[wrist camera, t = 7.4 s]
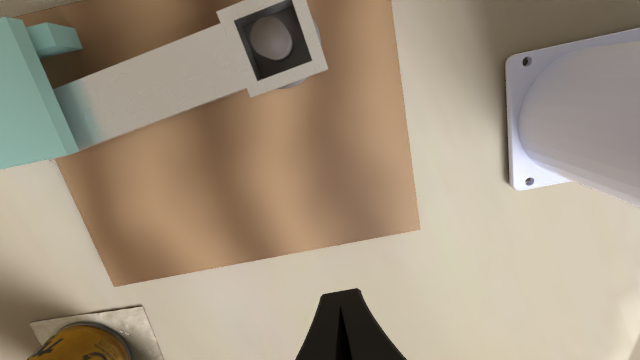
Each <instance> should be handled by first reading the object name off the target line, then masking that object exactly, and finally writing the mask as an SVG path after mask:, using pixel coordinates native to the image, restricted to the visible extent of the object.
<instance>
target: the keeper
mask: <svg viewBox="0 0 640 360" xmlns="http://www.w3.org/2000/svg"><path fill="white" fill-rule="evenodd" d="M80 49H83V48H82V45H81V43H80V40H79V38H78V35H77V33H76V30H75V28H71V27H66V26H62V25H57V24H52V23H47V22H46V23H42V24H38V25H34V26H30V27H25V25H24V23H23V21H22V20H20V19H15V18H10V17H1V18H0V169H5V168H10V167H14V166H19V165H24V164H28V163H33V162H38V161H42V160H47V159H52V158H56V157H61V156H66V155H70V154H73V153H76V152H79V149H78V147H77V145H76V142H75V140H74V138H73V135H72V133H71V131H70V129H69V126H68V124H67V122H66V119H65V117H64V115H63V112H62V110H61V108H60V106H59V103H58V101H57V99H56V96H55V94H54V92H53V89H52V87H51V85H50V83H49V80H48V78H47V76H46V73H45V71H44V69H43V67H42V64H41V62H40V60H39V59H42V58H46V57H50V56H54V55H59V54H63V53H67V52H71V51H76V50H80Z"/></svg>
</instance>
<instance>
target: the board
mask: <svg viewBox="0 0 640 360" xmlns="http://www.w3.org/2000/svg"><path fill="white" fill-rule="evenodd" d="M241 1H244V0H83V1H79V2H75V3H71V4H67V5H62V6H58V7H54V8H50V9H46V10H42V11H38V12H34V13H30V14H25V15H21V16H17V17H13V18H15V19H20V20H22V21H23V23H24V25H25V27H30V26H34V25H38V24H42V23H46V22H47V23H52V24H57V25H62V26H66V27H71V28H75V30H76V33H77V35H78V38H79V40H80V43H81V45H82V48H83V49H80V50H76V51H71V52H67V53H63V54H59V55H54V56H50V57H46V58H42V59H39V60H40V62H41V64H42V67H43V69H44V71H45V73H46V76H47V78H48V80H49V83H50V85H51V87H52V89H55V88H58V87H60V86H63V85H66V84H68V83H71V82H73V81H76V80H78V79H81V78H83V77H86V76H88V75H91V74H93V73H96V72H98V71H101V70H103V69H106V68H109V67H111V66H114V65H116V64H119V63H121V62H124V61H126V60H129V59H131V58H134V57H136V56H139V55H141V54H144V53H146V52H149V51H151V50H154V49H157V48H159V47H162V46H164V45H167V44H169V43H172V42H174V41H177V40H179V39H182V38H184V37H187V36H189V35H192V34H194V33H197V32H199V31H202V30H205V29H207V28H210V27H212V26H215V25H217V24H220V20H219V18H218V15H217V13H216V11H219V10H221V9H224V8H226V7H229V6H231V5H234V4H236V3H239V2H241ZM306 1H307V4H308V7H309V10H310V14H311V17H312V20H313V23H314V26H315V29H316V32H317V35H318V38H319V41H320V44H321V48H322V51H323V54H324V57H325V60H326V63H327V66H328V70H326V71H323V72H321V73H318V74H315V75H313V76H310V77H307V78H304V79H302V80H299V81H296V82H294V83H291V84H288V85H285V86H283V87H280V88H277V89H275V90H272V91H269V92H266V93H264V94H261V95H258V96H255V97H250V95H249V92H248V90H247V89H246V90H243V91H241V92H238V93H235V94H232V95H230V96H227V97H224V98H222V99H219V100H216V101H214V102H211V103H208V104H206V105H203V106H200V107H197V108H195V109H192V110H189V111H187V112H184V113H181V114H179V115H176V116H173V117H171V118H168V119H165V120H162V121H160V122H157V123H154V124H152V125H149V126H146V127H144V128H141V129H138V130H135V131H133V132H130V133H127V134H125V135H122V136H119V137H117V138H114V139H111V140H109V141H106V142H103V143H100V144H98V145H95V146H92V147H90V148H87V149H84V150H82V151H79V152H76V153H74V154H71V155H67V156H64V157H61V158H57V159H55V160H56V162H57V164H58V167H59V169H60V171H61V173H62V175H63V177H64V180H65V182H66V184H67V186H68V188H69V190H70V193H71V195H72V197H73V199H74V201H75V203H76V206H77V208H78V210H79V212H80V214H81V216H82V219H83V221H84V223H85V225H86V227H87V229H88V232H89V234H90V236H91V238H92V240H93V242H94V245H95V247H96V249H97V251H98V253H99V255H100V258H101V260H102V262H103V264H104V266H105V268H106V271H107V273H108V275H109V277H110V279H111V281H112V284H113V286H114V287H116V286H122V285H127V284H132V283H138V282H143V281H148V280H154V279H159V278H164V277H170V276H175V275H180V274H186V273H191V272H196V271H202V270H207V269H212V268H218V267H223V266H228V265H234V264H239V263H244V262H250V261H255V260H261V259H266V258H271V257H277V256H282V255H287V254H293V253H298V252H303V251H309V250H314V249H319V248H325V247H330V246H335V245H341V244H346V243H351V242H357V241H362V240H367V239H373V238H378V237H383V236H389V235H394V234H399V233H405V232H410V231H416V230H420V223H419V215H418V207H417V199H416V192H415V184H414V176H413V168H412V161H411V153H410V145H409V137H408V130H407V122H406V114H405V106H404V98H403V91H402V83H401V75H400V67H399V60H398V52H397V44H396V36H395V29H394V21H393V13H392V5H391V0H306ZM242 28H243V31H244V33H245V36H246V39H247V41H248V44H249V46H250V49H251V52H252V54H253V57H254V59H255V62H256V65H257V67H258V70H259V72H260V75H261V78H262V79H265V78H267V77H270V76H273V75H275V74H278V73H281V72H284V71H286V70H289V69H292V68H294V67H297V66H300V65H302V64H305V63H308V62H310V61H312V58H311V55H310V52H309V49H308V46H307V43H306V40H305V38H304V35H303V32H302V29H301V26H300V23H299V20H298V17H297V14H296V11H295V8H294V6H292V7H289V8H287V9H284V10H281V11H279V12H276V13H274V14H271V15H269V16H266V17H262V18H260V19H258V20H256V21H253V22H251V23H248V24H246V25H243V26H242Z"/></svg>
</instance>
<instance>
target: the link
mask: <svg viewBox="0 0 640 360" xmlns="http://www.w3.org/2000/svg"><path fill="white" fill-rule="evenodd" d="M292 6H294V8H295V11H296V14H297V17H298V20H299V23H300V26H301V29H302V32H303V35H304V38H305V40H306V43H307V46H308V49H309V52H310V55H311V58H312V61H310V62H308V63H305V64H302V65H300V66H297V67H294V68H292V69H289V70H286V71H284V72H281V73H278V74H275V75H273V76H270V77H267V78H265V79H262V78H261V75H260V72H259V70H258V67H257V65H256V62H255V59H254V57H253V54H252V52H251V49H250V46H249V44H248V41H247V39H246V36H245V33H244V31H243V28H242V26H243V25H246V24H248V23H251V22H253V21H256V20H258V19H260V18H262V17H266V16H269V15H271V14H274V13H276V12H279V11H281V10H284V9H287V8H289V7H292ZM216 13H217V15H218V18H219V20H220V24H217V25H215V26H212V27H210V28H207V29H205V30H202V31H199V32H197V33H194V34H192V35H189V36H187V37H184V38H182V39H179V40H177V41H174V42H172V43H169V44H167V45H164V46H162V47H159V48H157V49H154V50H151V51H149V52H146V53H144V54H141V55H139V56H136V57H134V58H131V59H129V60H126V61H124V62H121V63H119V64H116V65H114V66H111V67H109V68H106V69H103V70H101V71H98V72H96V73H93V74H91V75H88V76H86V77H83V78H81V79H78V80H76V81H73V82H71V83H68V84H66V85H63V86H60V87H58V88H55V89H53V92H54V94H55V96H56V99H57V101H58V103H59V106H60V108H61V110H62V112H63V115H64V117H65V119H66V122H67V124H68V126H69V129H70V131H71V133H72V135H73V138H74V140H75V142H76V145H77V147H78V149H79V151H82V150H84V149H87V148H90V147H92V146H95V145H98V144H100V143H103V142H106V141H109V140H111V139H114V138H117V137H119V136H122V135H125V134H127V133H130V132H133V131H135V130H138V129H141V128H144V127H146V126H149V125H152V124H154V123H157V122H160V121H162V120H165V119H168V118H171V117H173V116H176V115H179V114H181V113H184V112H187V111H189V110H192V109H195V108H197V107H200V106H203V105H206V104H208V103H211V102H214V101H216V100H219V99H222V98H224V97H227V96H230V95H232V94H235V93H238V92H241V91H243V90H246V89H247V90H248V92H249V95H250V97H255V96H258V95H261V94H264V93H266V92H269V91H272V90H275V89H277V88H280V87H283V86H285V85H288V84H291V83H294V82H296V81H299V80H302V79H304V78H307V77H310V76H313V75H315V74H318V73H321V72H323V71H326V70H328V66H327V63H326V60H325V57H324V54H323V51H322V48H321V44H320V41H319V38H318V35H317V32H316V29H315V26H314V23H313V20H312V17H311V14H310V10H309V7H308V4H307V1H306V0H244V1H241V2H239V3H236V4H234V5H231V6H229V7H226V8H224V9H221V10H219V11H216ZM73 154H74V153H73ZM70 155H71V154H70ZM66 156H67V155H66ZM61 157H64V156H61ZM61 157H56V158H52V159H48V160H49V161H51V160H54V159H57V158H61Z"/></svg>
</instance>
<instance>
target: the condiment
mask: <svg viewBox="0 0 640 360" xmlns="http://www.w3.org/2000/svg"><path fill="white" fill-rule="evenodd" d="M29 325H30V326H31V328H32V330H33V332H34V334H35V336H36V337H37V339H38V341H39V343H40V344H41V347H40V348H39V349H38V350H37V351H36V352H35V353H34V354H33V355H32V356H31V357H29V358H28V359H27V360H163V356H162V354H161V351H160V349H159V346H158V344H157V340H156V338H155V336H154V334H153V332H152V329H151V326H150V323H149V320H148V319H147V317H146V314H145V312H144V309H143V307H135V308H131V309H121V310H117V311H109V312H103V313H94V314H84V315H76V316H70V317H63V318H55V319H50V320H42V321H37V322H32V323H29ZM119 330H121V331H123V333H121V332H119ZM125 332H126V333H129V335H126V334H125Z"/></svg>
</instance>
